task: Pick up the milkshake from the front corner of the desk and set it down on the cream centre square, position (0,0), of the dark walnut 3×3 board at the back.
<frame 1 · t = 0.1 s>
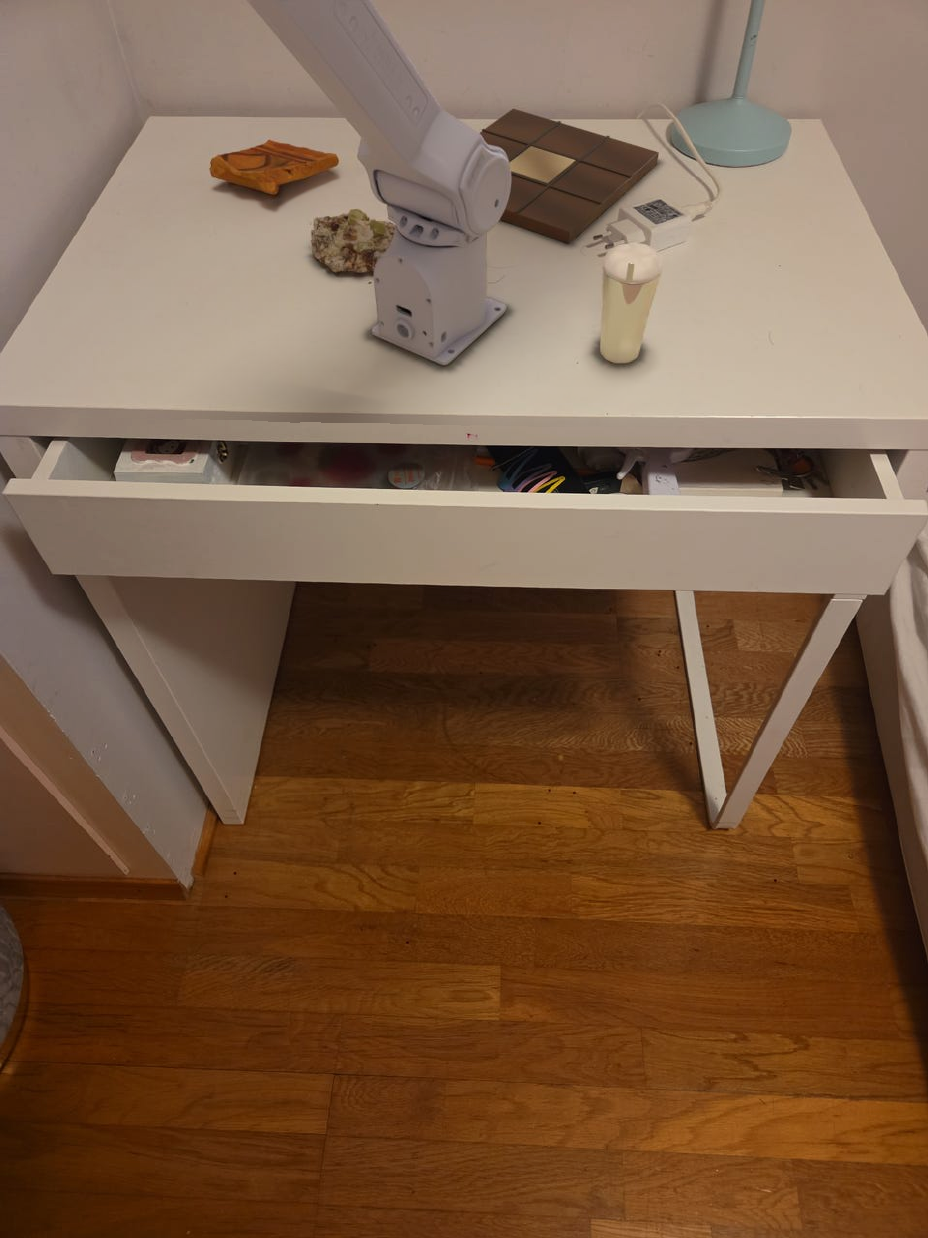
mineral rock: (366, 256, 83), on the table
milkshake: (618, 356, 74), on the table
pottery fragment: (282, 181, 92), on the table
board: (538, 176, 91), on the table
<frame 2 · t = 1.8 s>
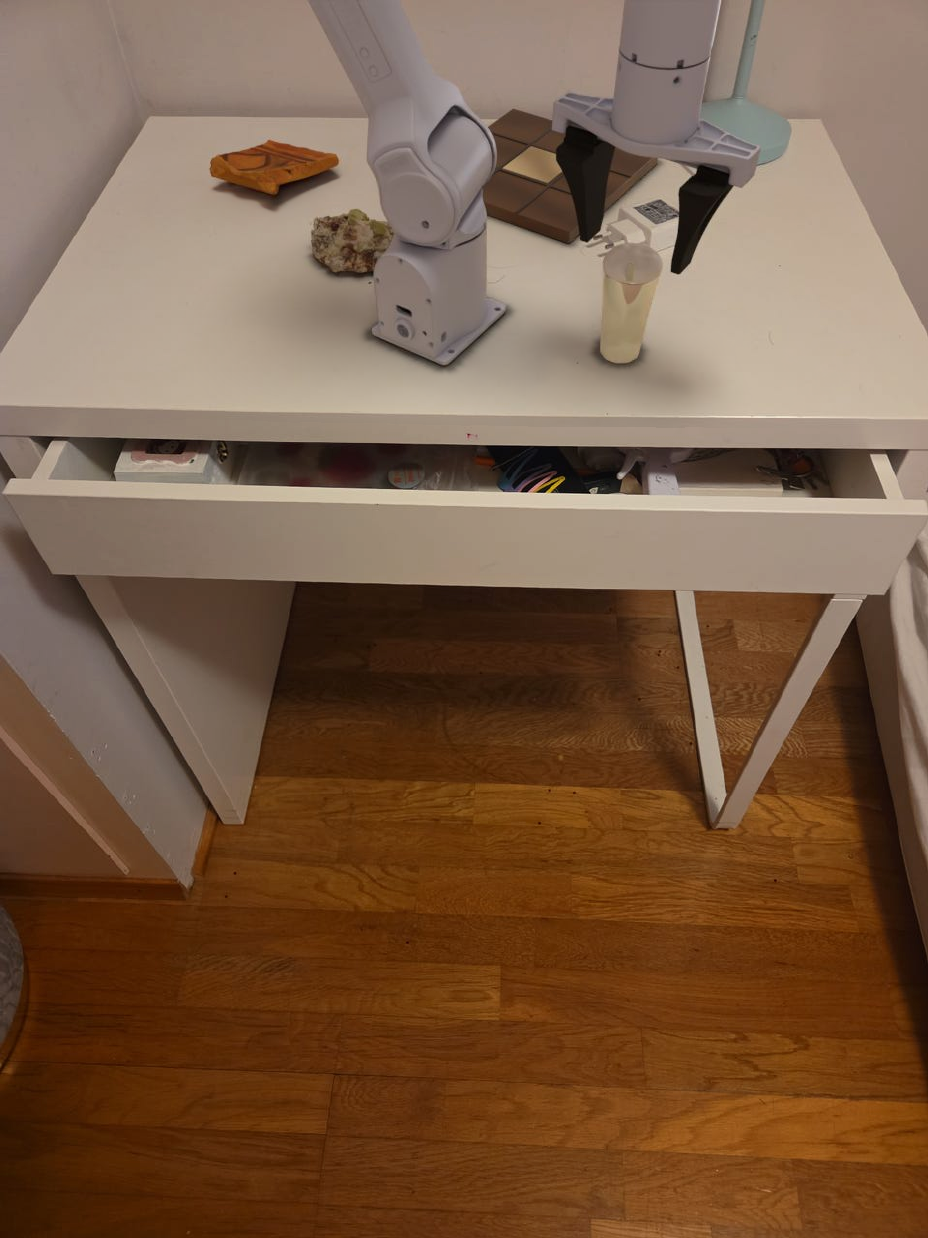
hand: (634, 250, 66), 9 cm above the table, tool pointing down, fingers open, 7 cm apart
nothing on the table moved.
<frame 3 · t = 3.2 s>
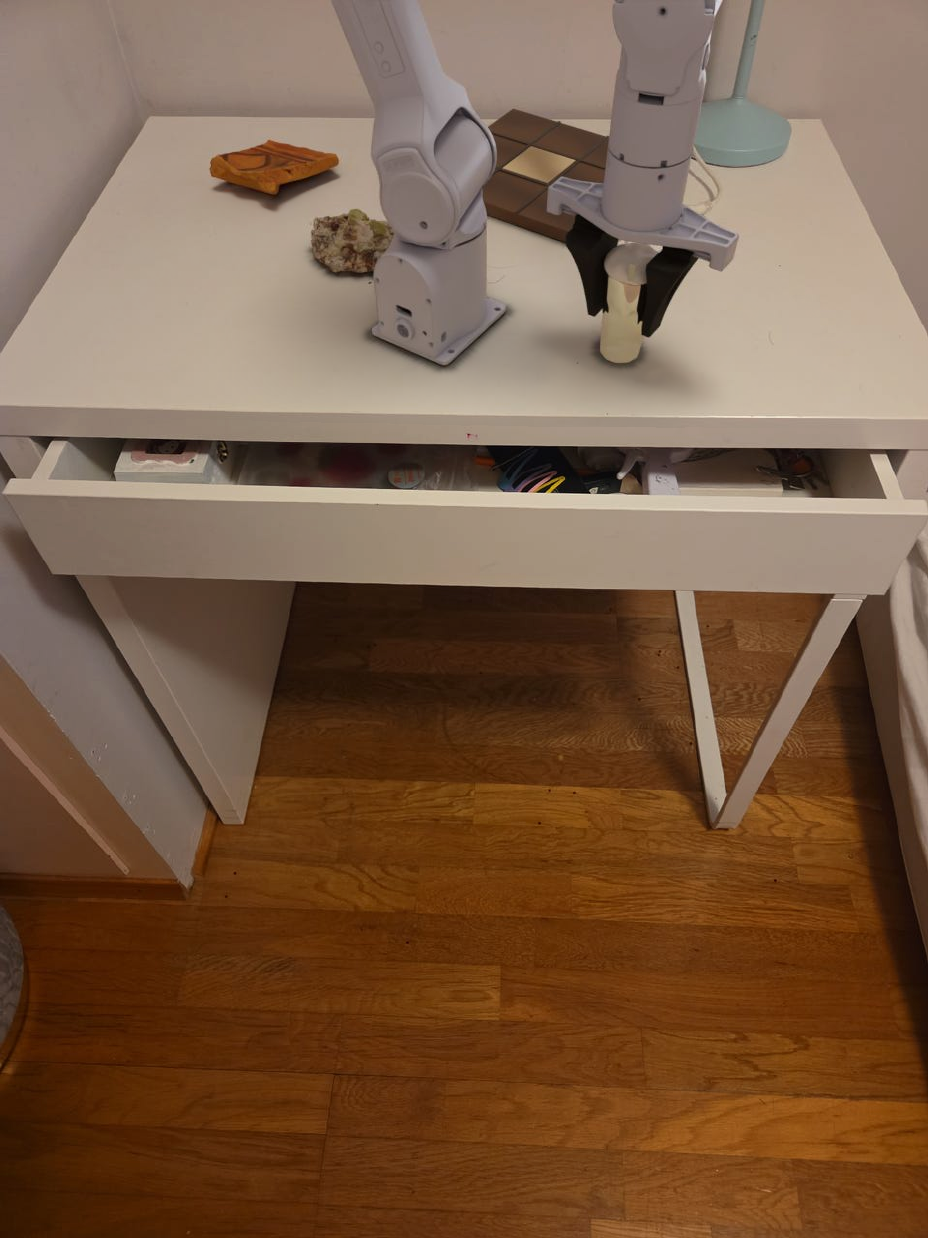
hand: (624, 319, 71), 3 cm above the table, tool pointing down, fingers closed on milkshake, 4 cm apart
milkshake: (618, 356, 74), on the table, touching gripper
everything else where it was.
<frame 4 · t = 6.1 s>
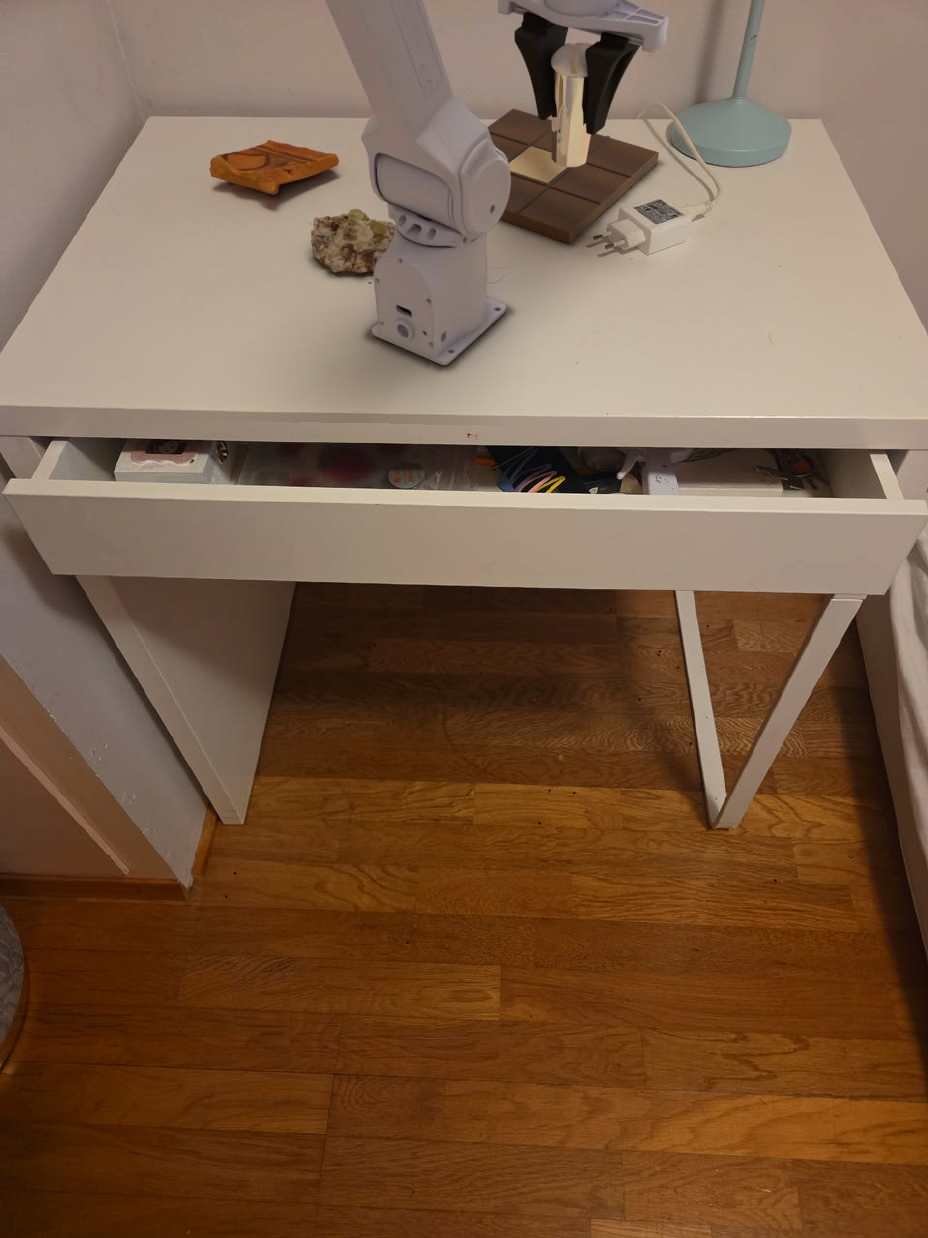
hand: (571, 122, 77), 10 cm above the table, tool pointing down, fingers closed on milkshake, 4 cm apart
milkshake: (568, 163, 80), point 6 cm above the table, touching gripper
everything else where it was.
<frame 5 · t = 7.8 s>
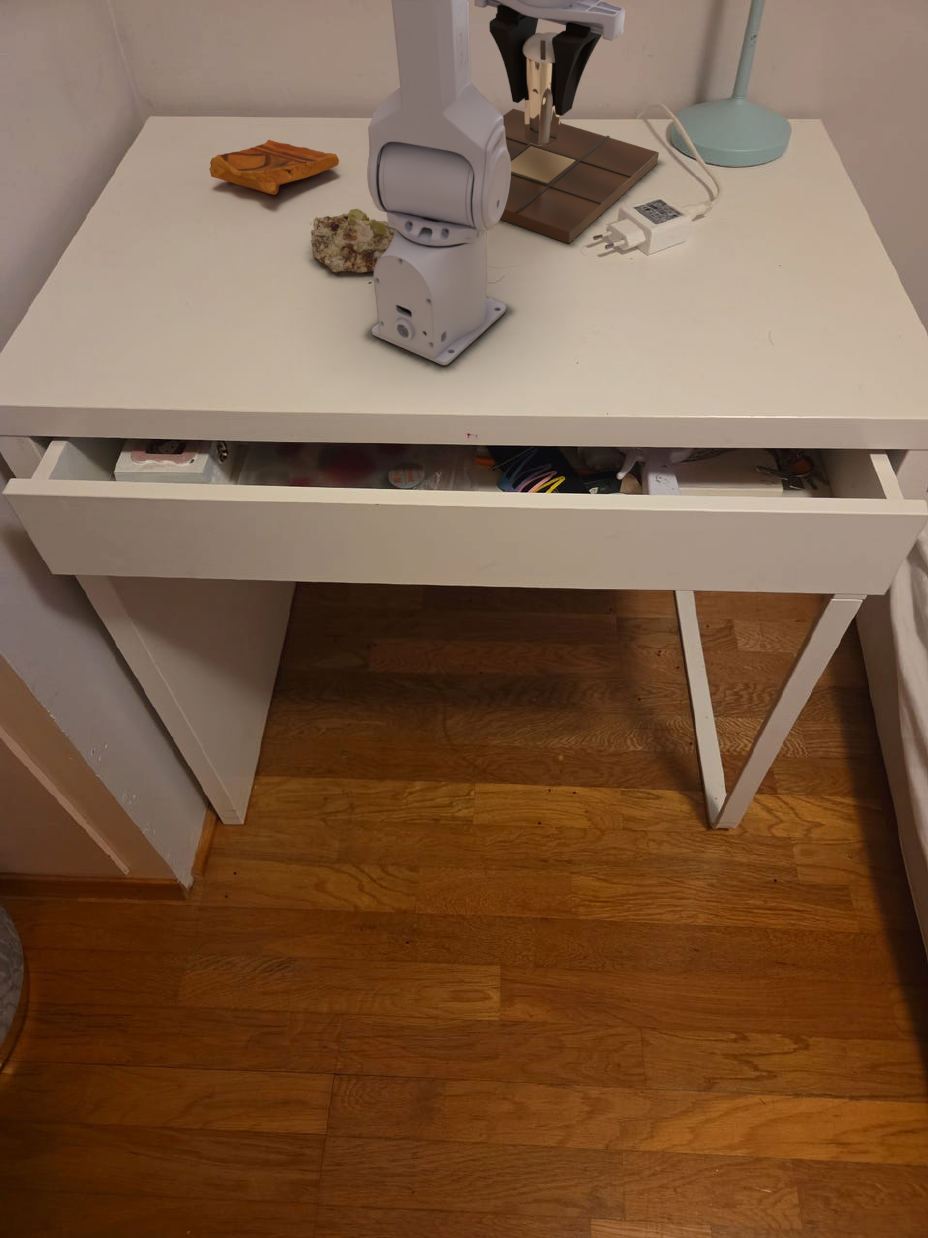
hand: (542, 104, 85), 7 cm above the table, tool pointing down, fingers closed on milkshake, 4 cm apart
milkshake: (540, 142, 88), point 3 cm above the table, touching gripper
everything else where it was.
when the fingers open (5 cm above the table, at t = 9.0 s): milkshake stays where it is, resting on board.
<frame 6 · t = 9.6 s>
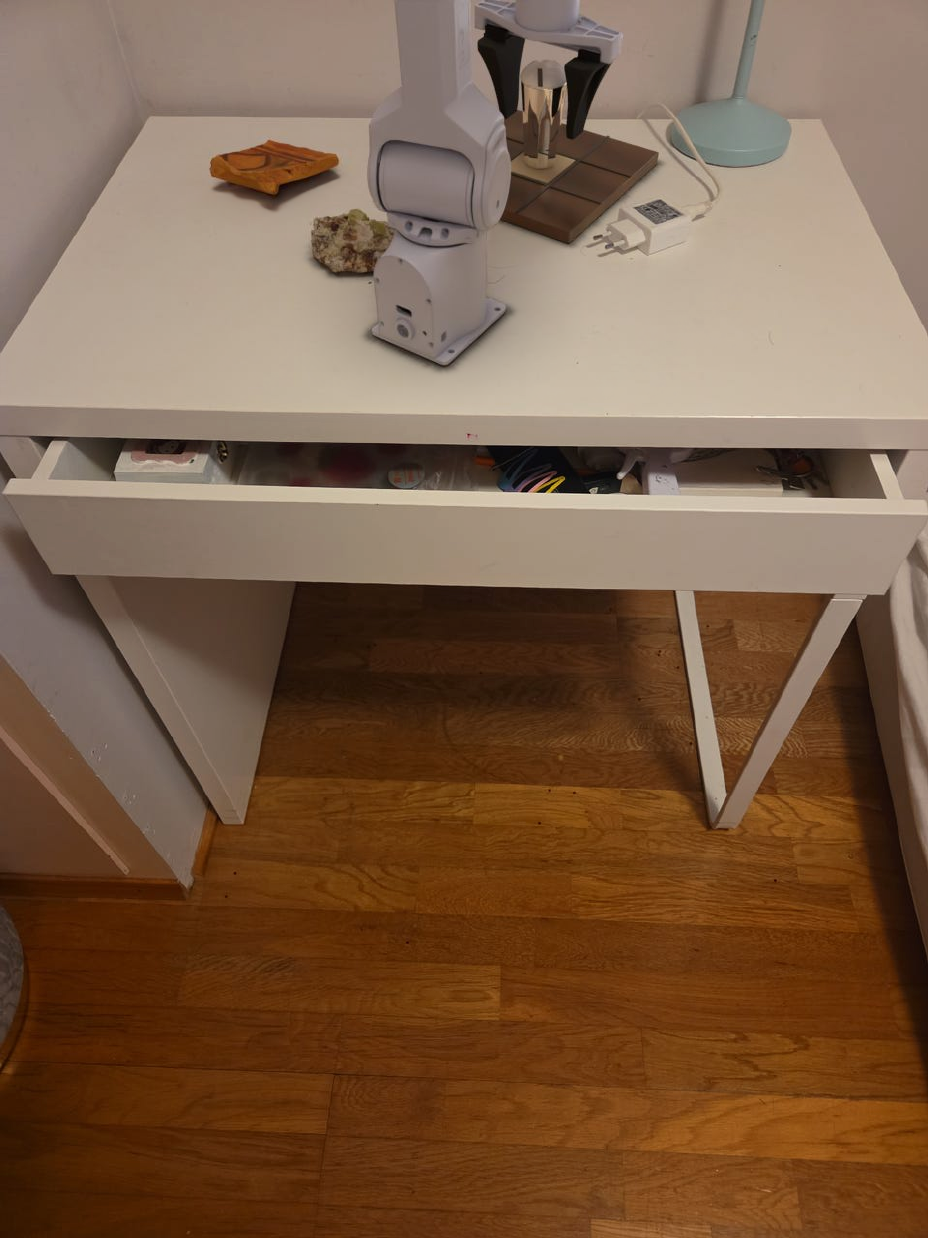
hand: (541, 124, 87), 5 cm above the table, tool pointing down, fingers open, 7 cm apart
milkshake: (539, 165, 90), point 1 cm above the table, touching board
everything else where it was.
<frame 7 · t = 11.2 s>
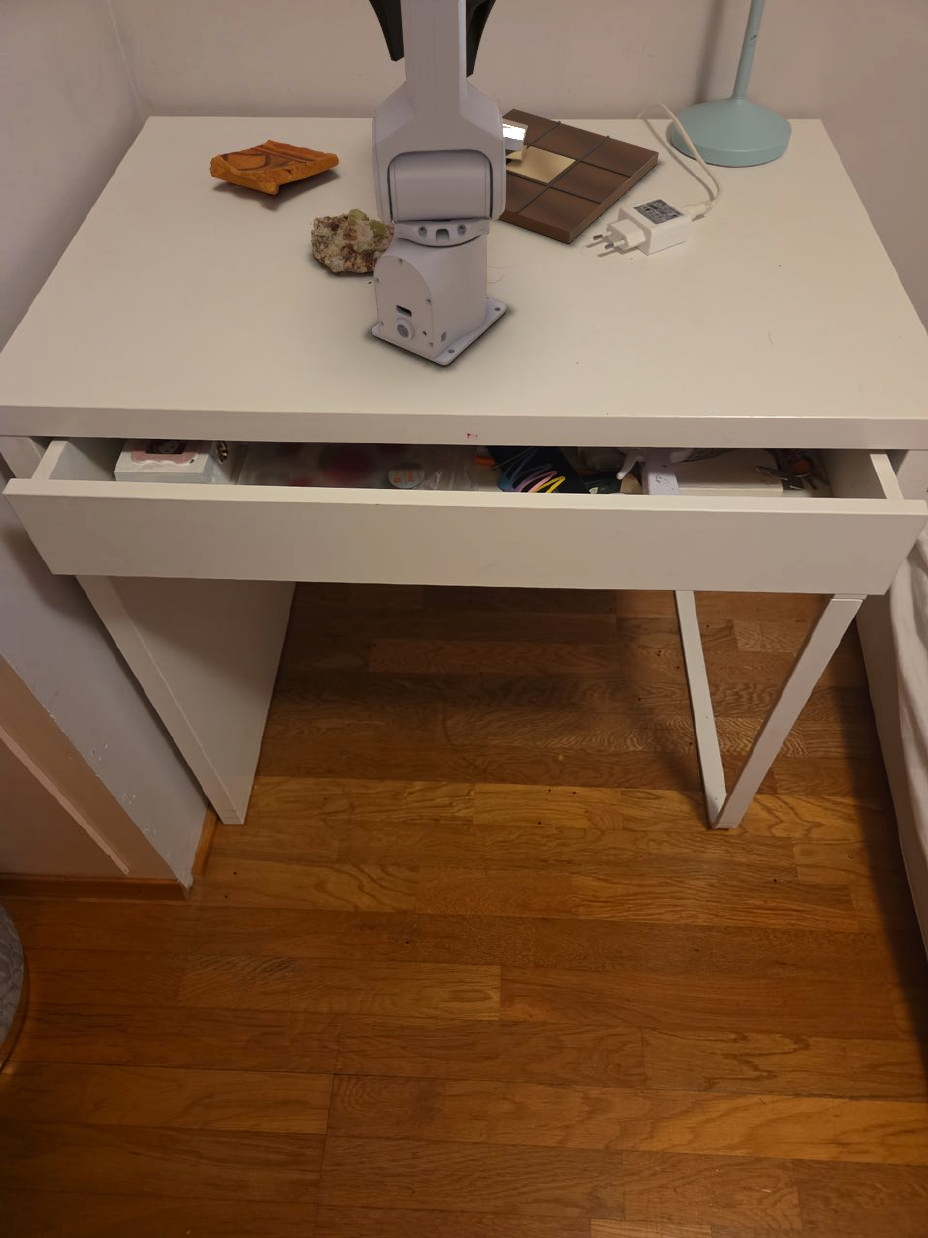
hand: (431, 66, 84), 10 cm above the table, tool pointing down, fingers open, 7 cm apart
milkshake: (526, 145, 89), point 3 cm above the table, touching board
everything else where it was.
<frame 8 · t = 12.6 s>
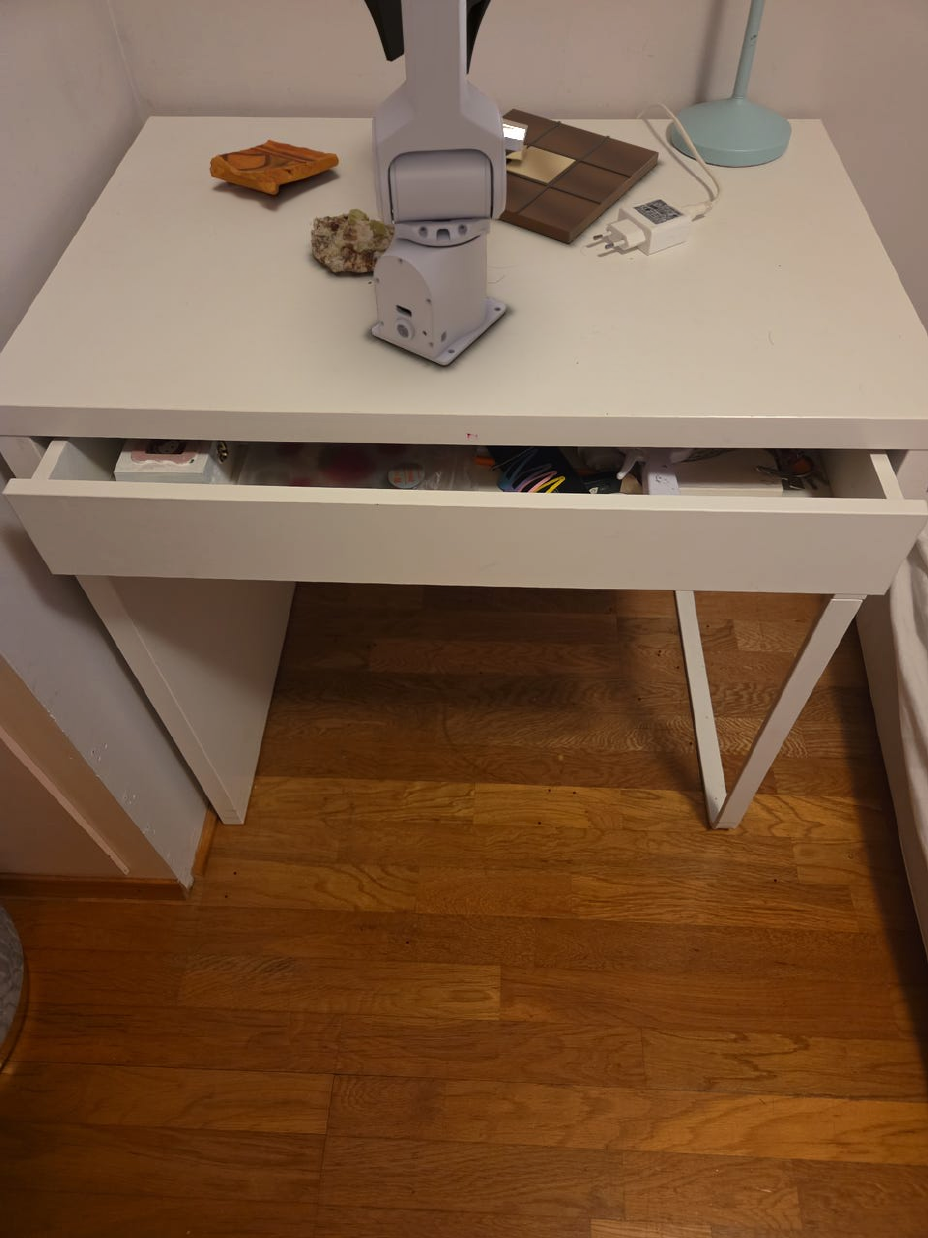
hand: (427, 66, 84), 10 cm above the table, tool pointing down, fingers open, 7 cm apart
nothing on the table moved.
at the end: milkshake 1.4 cm off-centre on the board, point 2.9 cm above the board's base; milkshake touching board; the gripper is holding nothing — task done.
